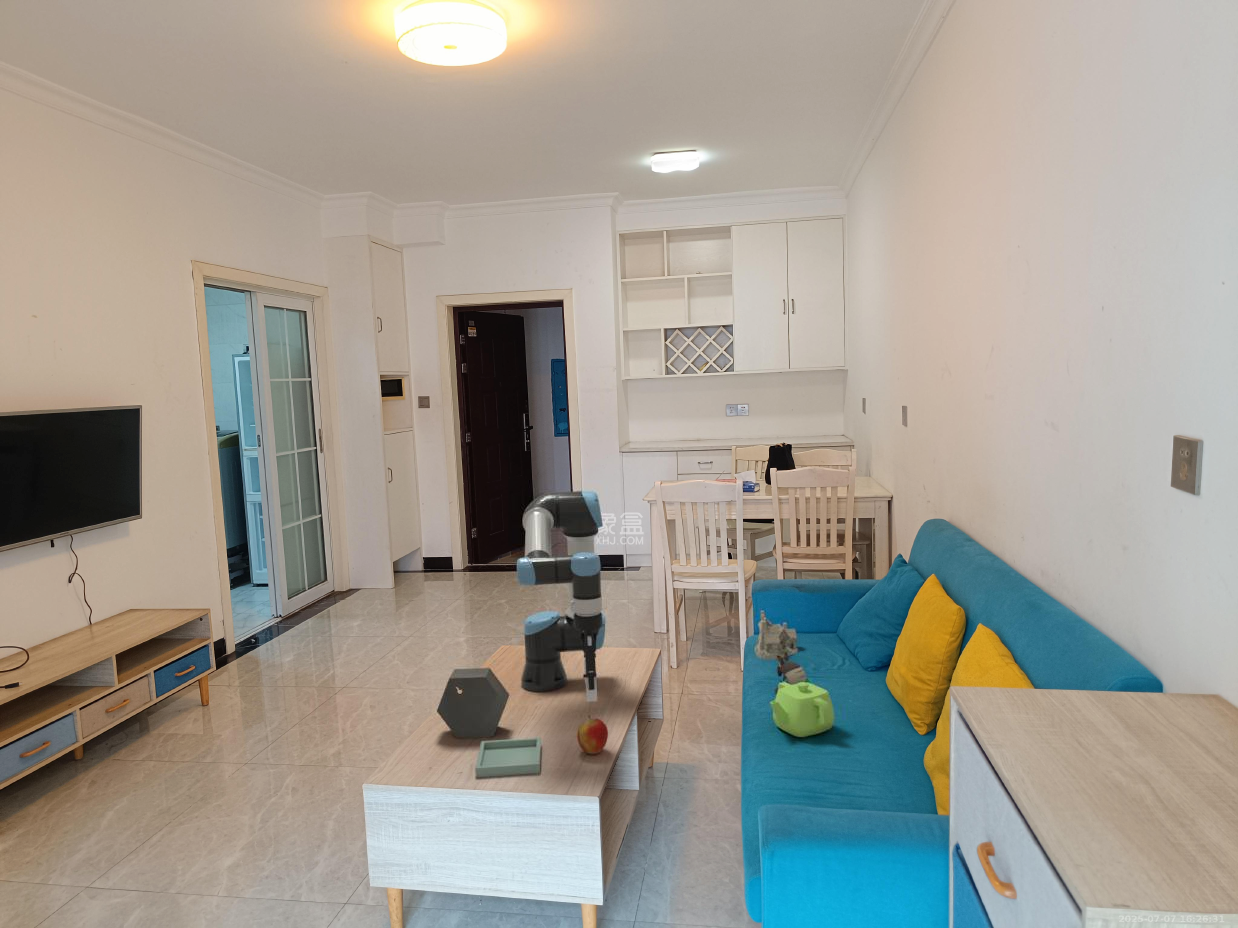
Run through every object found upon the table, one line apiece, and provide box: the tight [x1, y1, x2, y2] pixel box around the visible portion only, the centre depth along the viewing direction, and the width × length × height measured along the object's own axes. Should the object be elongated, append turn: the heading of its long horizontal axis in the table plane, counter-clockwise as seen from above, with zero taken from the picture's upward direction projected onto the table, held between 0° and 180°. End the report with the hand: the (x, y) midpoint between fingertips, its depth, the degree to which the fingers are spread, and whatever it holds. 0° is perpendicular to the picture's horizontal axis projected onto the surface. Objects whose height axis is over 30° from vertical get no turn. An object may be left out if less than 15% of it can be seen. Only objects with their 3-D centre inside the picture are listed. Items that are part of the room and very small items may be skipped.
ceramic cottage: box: [753, 610, 799, 661], centre depth 291 cm, size 16×16×15 cm
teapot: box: [769, 681, 835, 738], centre depth 223 cm, size 18×20×13 cm
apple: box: [576, 715, 609, 755], centre depth 214 cm, size 8×8×10 cm
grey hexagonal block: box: [436, 667, 510, 739], centre depth 230 cm, size 17×8×21 cm
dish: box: [474, 736, 542, 778], centre depth 211 cm, size 16×16×2 cm
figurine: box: [774, 652, 814, 695], centre depth 252 cm, size 11×12×12 cm
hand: (590, 691), depth 213 cm, fingers open, 13 cm apart
